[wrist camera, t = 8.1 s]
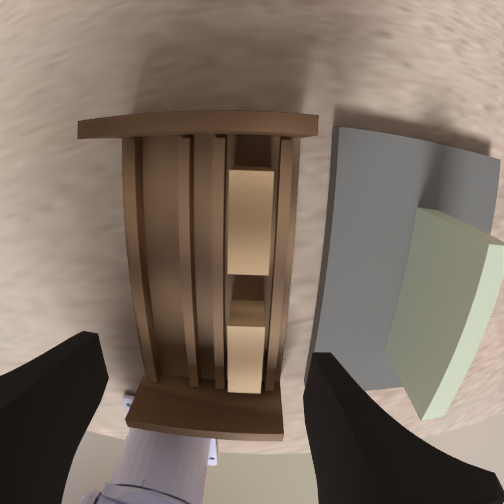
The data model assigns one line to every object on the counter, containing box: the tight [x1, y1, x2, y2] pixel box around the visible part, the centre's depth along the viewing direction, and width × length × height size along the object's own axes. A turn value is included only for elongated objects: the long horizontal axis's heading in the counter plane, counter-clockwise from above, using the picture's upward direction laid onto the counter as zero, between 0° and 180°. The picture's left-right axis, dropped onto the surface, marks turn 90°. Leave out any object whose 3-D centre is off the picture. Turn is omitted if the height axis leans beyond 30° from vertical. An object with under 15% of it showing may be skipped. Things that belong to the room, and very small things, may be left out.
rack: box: [78, 110, 319, 441], centre depth 17 cm, size 18×10×6 cm, turn 178°
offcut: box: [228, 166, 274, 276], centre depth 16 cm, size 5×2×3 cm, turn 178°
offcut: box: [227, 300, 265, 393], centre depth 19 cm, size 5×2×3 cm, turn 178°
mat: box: [304, 127, 500, 391], centre depth 19 cm, size 18×12×2 cm, turn 178°
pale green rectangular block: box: [384, 207, 504, 421], centre depth 15 cm, size 10×2×7 cm, turn 177°
